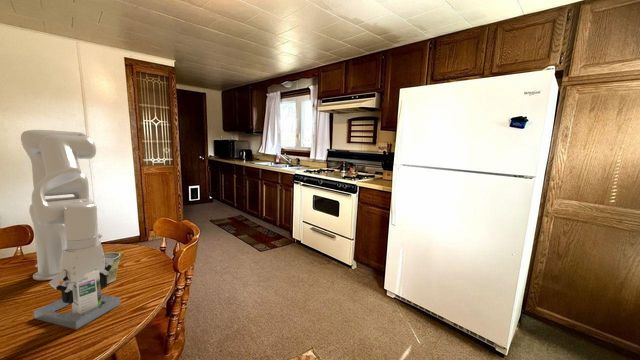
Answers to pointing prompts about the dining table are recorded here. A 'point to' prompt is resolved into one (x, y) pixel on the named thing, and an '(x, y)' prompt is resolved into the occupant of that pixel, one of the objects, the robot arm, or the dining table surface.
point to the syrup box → (87, 293)
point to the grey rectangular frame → (71, 318)
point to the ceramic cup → (113, 265)
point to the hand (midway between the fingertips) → (86, 294)
